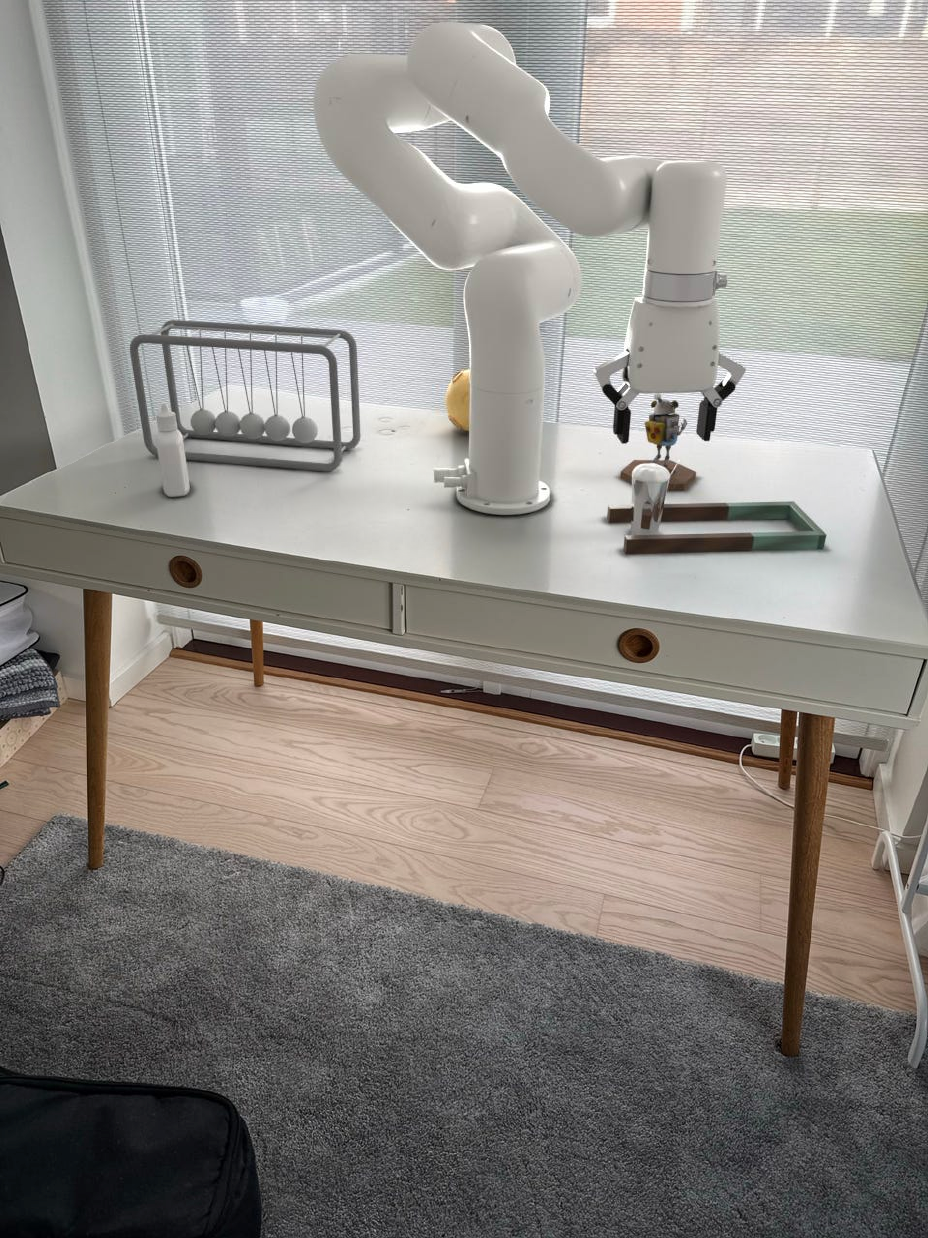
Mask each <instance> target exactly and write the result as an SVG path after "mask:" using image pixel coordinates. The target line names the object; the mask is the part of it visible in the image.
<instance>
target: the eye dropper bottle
mask: <svg viewBox="0 0 928 1238" xmlns="http://www.w3.org/2000/svg"><path fill="white" fill-rule="evenodd" d="M155 418H156V424H157V429H158V430H157V432H156V435H155V443H156V448H157V451H158V457H157V458H158V463H159V471H160V476H161V482H162V488H163V492H164V494H165V495H166V496H167V497H170V498H177V497H184V496H187V494H188V493H189V492H190V489H191V486H190V479H189V472H188V465H187V460H186V457H185V452H186V450H185V443H184V439H183V435H182V434H181V432H180V431H179V430H178V429H177V422H176V415H175V413H174V412H172V411H171V409H170V408H169V405H168V403H167V402H162V403H161V404H160V411H159V412H157V413H156V414H155Z"/></svg>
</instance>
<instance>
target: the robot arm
mask: <svg viewBox="0 0 928 1238" xmlns="http://www.w3.org/2000/svg"><path fill="white" fill-rule="evenodd" d="M550 107H551V96H550V93H549V90H548V88H547V87H546V85H544V83H542V82H540V81H539V80H538V79H536V78H535V77H533V76H532V75H531V74H530V73H528V72H527V71H525V70H524V69H522V68H521V67H520V66H518V65H517V62H516V57H515V53H514V50H513V47H512V46H511V43H510V42H509V40H508V39H507V38H506V37H505V36H504V34H502V33H501V31H499V30H497V29H495V28H494V27H491V26H489V25H486V24H479V23H478V24H477V23H469V22H458V21H439V22H435V23H433V24H430V25H428V26H427V27H425V28H423V29H422V30H421V31H420V32H419V33H418V34H417V35H416V36H415V37H414V39H413V40H412V42H411V45H410V47H409V48H408V52H407V54H386V53H385V54H383V53H355V54H354V53H353V54H349V55H345V56H342V57H339V58H337V59H335V60H333V61H332V62H330V63H328V65H326V66H325V67H324V69H322V70H321V72H320V74H319V76H318V78H317V79H316V83H315V87H314V91H313V115H314V122H315V126H316V130H317V133H318V137H319V139H320V142H321V145H322V147H323V149H324V151H325V153H326V155H327V157H328V158H329V160H330V161H331V163H332V164H333V165H334V167H335V168H336V169H337V171H338V172H339V173H340V174H341V175H342V176H343V177H344V178H345V179H346V180H347V181H348V183H350V184H351V185H352V186H353V187H354V188H355V189H357V190H358V192H359V193H361V194H362V195H363V196H364V197H365V198H366V199H368V200H369V202H370V203H372V204H373V205H374V206H375V207H376V208H377V209H378V210H379V211H380V212H381V214H383V216H384V217H385V218H386V219H387V220H388V221H389V222H390V223H391V224H392V226H394V227H395V228H396V229H397V230H398V231H399V232H400V233H401V234H402V235H403V237H405V239H406V240H408V241H409V242H410V243H411V244H412V245H413V246H414V247H415V249H417V250H418V251H419V253H420V254H421V255H422V256H424V258H425V259H426V260H427V261H429V262H430V263H431V264H432V265H433V266H434V267H437V268H438V269H442V270H444V271H457V270H463V269H468V268H471V269H470V271H469V272H468V274H467V277H466V279H465V283H464V286H463V308H464V316H465V322H466V325H467V326H466V328H467V334H468V343H469V344H468V346H469V348H468V349H469V369H470V414H469V431H468V458H465V459H464V465H457V467H456V468H447V467H437V468H436V467H434V468H433V483H436V484H439V483H443V488H456V499H457V501H458V502H459V503H460V504H461V505H463V506H464V507H466V508H468V509H470V510H472V511H475V512H479V513H483V514H487V515H488V514H489V515H495V516H497V515H498V516H516V515H517V516H518V515H524V514H529V513H534V512H536V511H539V510H540V509H543V508H544V507H545V506H548V503H549V502H550V500H551V489H550V487H549V486H548V485H547V484H546V483H545V482H543V481H541V480H540V479H541V478H540V477H541V462H542V461H541V460H542V444H543V442H542V441H543V427H544V426H543V425H544V408H545V407H544V406H545V405H544V404H545V388H546V355H545V349H544V344H543V340H542V336H541V332H540V324H542V323H544V322H547V321H550V320H553V319H555V318H557V317H560V316H561V315H564V314H565V313H567V312H568V311H569V310H570V309H571V308H572V307H573V306H574V305H575V304H576V303H577V302H578V300H579V297H580V295H581V291H582V286H583V274H582V270H581V269H582V268H581V266H580V263H579V260H578V259H577V257H576V255H575V254H574V252H573V251H572V250H571V248H570V247H569V246H568V245H567V244H566V243H565V242H564V241H563V240H562V238H561V237H560V236H559V235H558V234H556V232H555V231H553V230H552V229H551V228H550V227H549V226H548V225H547V224H546V223H545V222H544V221H543V220H542V219H541V218H540V216H538V215H537V214H536V213H535V212H534V211H533V210H532V209H531V208H530V207H529V206H528V205H527V204H526V203H525V202H523V200H521V199H520V198H519V197H518V196H517V195H516V194H514V192H512V191H511V190H508V189H507V188H505V187H503V186H501V185H499V184H496V183H491V182H476V183H468V184H464V183H459V182H456V181H454V180H453V179H451V178H450V177H449V176H448V175H446V173H444V172H443V171H442V170H441V169H440V168H438V166H436V164H434V163H433V161H432V160H431V159H430V158H429V157H428V156H427V155H426V154H425V153H424V152H423V151H421V150H420V149H418V148H417V147H416V146H414V145H413V144H411V143H409V142H408V141H406V140H405V139H403V138H402V137H400V136H399V135H398V133H409V132H410V133H411V132H417V131H422V130H426V129H429V128H433V127H435V126H438V125H441V124H445V123H448V122H450V121H451V122H453V123H454V124H456V125H457V126H459V127H460V128H462V129H463V130H464V131H465V132H466V133H468V134H469V135H470V136H472V137H473V138H475V139H476V140H477V141H479V142H480V143H481V144H482V145H483V146H485V147H486V148H487V149H488V150H490V151H491V152H493V153H494V154H495V155H496V156H497V157H499V158H500V159H501V162H502V165H503V167H504V168H505V171H506V172H507V174H508V176H509V177H510V179H511V180H512V182H513V183H514V185H515V187H516V188H517V189H518V190H519V191H520V192H521V193H522V195H523V196H525V198H526V199H528V200H529V201H530V202H531V203H532V205H533V204H534V205H535V206H536V207H537V208H538V209H540V210H541V211H542V212H543V213H545V214H547V216H549V217H550V218H552V219H553V220H554V221H556V223H558V224H560V225H562V226H563V227H564V228H565V229H567V230H569V231H570V232H573V233H574V234H577V235H579V236H582V237H585V238H590V239H600V238H606V237H610V236H614V235H617V234H621V233H627V232H631V231H635V230H636V231H637V230H643V229H647V239H646V240H647V241H646V252H645V253H646V254H645V264H644V265H645V266H644V274H643V286H642V287H643V288H642V296H636V297H635V298H634V300H633V303H632V307H631V311H630V315H629V318H628V325H627V329H626V335H625V339H624V346H623V352H622V353H620V354H618V355H617V356H615V357H612V358H611V359H609V360H607V361H605V362H603V363H601V364H599V365H597V366H596V367H594V369H593V375H594V377H595V379H596V381H597V383H598V386H599V388H600V390H601V392H602V393H603V395H604V396H605V397H606V398H607V399H608V400H609V401H610V402H611V403H612V404H613V405H614V408H613V409H614V410H613V420H612V421H613V424H612V432H613V434H614V435H616V438H617V439H618V440H619V442H620V443H621V444H622V445H623V444H625V445H626V444H628V443H629V440H630V431H631V430H630V428H631V417H632V410H631V409H630V407H629V406H630V404H631V403H632V402H633V401H634V400H635V399H636V397H637V396H639V395H640V394H655V393H660V394H679V393H680V394H681V393H682V394H683V393H700V394H701V395H702V396H703V400H700V402H699V405H698V413H697V414H698V415H697V421H696V430H695V431H696V434H697V436H698V437H699V438H700V439H701V440H702V441H704V442H710V441H711V435H712V433H713V432H715V429H716V422H717V414H718V408H720V407H721V406H722V404H723V402H724V401H725V400H726V399H727V398H728V397H729V396H730V395H731V394H733V393H734V391H736V386H737V385H738V384H739V382H740V381H741V379H742V378H743V376H744V374H746V371H747V369H746V366H745V365H743V364H741V363H740V362H739V361H736V360H735V359H733V358H731V357H730V356H727V355H725V353H722V352H720V313H719V301H718V300H717V299H716V298H715V296H716V295H715V294H716V292H717V290H720V289H726V288H727V285H728V276H727V274H720V273H719V272H718V270H717V266H718V265H717V264H718V256H719V249H720V248H719V247H720V240H721V231H722V223H723V213H724V208H725V207H724V206H725V198H726V189H727V179H728V178H727V177H728V176H727V171H726V169H725V167H724V165H721V164H720V163H718V162H715V161H710V160H709V161H708V160H672V161H667V160H661V159H656V158H654V157H653V158H652V157H647V156H643V155H642V156H641V155H623V156H622V155H621V156H612V157H604V158H599V157H598V156H596V155H594V154H593V153H592V152H590V151H588V150H587V149H585V148H584V147H583V146H581V145H580V144H579V143H577V142H576V141H574V140H573V139H572V138H570V137H569V136H568V135H567V134H565V133H564V132H563V131H562V130H561V129H560V128H558V126H557V125H555V123H554V122H553V121H552V120H551V118H550V117H549V114H550ZM718 367H721V368H722V369H724V370H726V371H727V373H726V376H725V378H724V379H723V380H722V381H720V382H719V383H718V384H717V385H716V386H715V383H716V381H717V375H718ZM619 371H621V379H622V381H623V383H622V384H621V385H620V386H619V388H617V389H616V388H615V387H614V385H612V382H611V379H610V378H611V376H612V375H613V374H615V373H617V372H619ZM714 386H715V387H714Z"/></svg>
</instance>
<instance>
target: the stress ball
mask: <svg viewBox="0 0 928 1238" xmlns="http://www.w3.org/2000/svg"><path fill="white" fill-rule="evenodd" d="M445 408H446V411H447V414H448V415H447V418H448V420H449V421H450V422H451V423H452V425H454V426H455V427H456V428H457V429H458V430H460V431H462V430H465V431H467V432H469V414H470V368H468V369H465V370H464V369H462V370H460V371H458V372H457V373H456V374H454V376H453V377H452V378H451V381H450V383H449V385H448V386H447V390H446V393H445Z"/></svg>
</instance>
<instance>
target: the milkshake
mask: <svg viewBox="0 0 928 1238" xmlns="http://www.w3.org/2000/svg"><path fill="white" fill-rule="evenodd" d="M676 463H677V464H676V466H677V465H678V464H680V460H678V461H677V462H676ZM676 466H675V467H674V469H675V468H676ZM674 469H673V471H674ZM673 471H672V472H671V474H672V473H673ZM671 474H670V473H669V471H668V470H667V469H666V468H665V467H663V466H660V465H658V464H655V463H650V464H640V465H638V466H637V467H635V468H634V470H633V472H632V483H631V505H632V507H631V523H630V535H659V530H660V527H661V526H660V525H661V522H660V521H661V516H662V512H663V507H664V504H665V502H666V496H667V492H668V490H667V488H668V484H669V480H670V476H671Z"/></svg>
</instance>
